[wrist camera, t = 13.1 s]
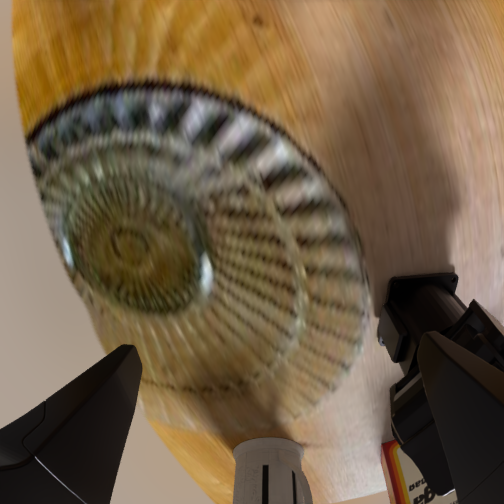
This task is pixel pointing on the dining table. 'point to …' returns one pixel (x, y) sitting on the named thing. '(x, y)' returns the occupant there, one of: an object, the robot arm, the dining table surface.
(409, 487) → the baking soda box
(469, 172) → the dining table surface
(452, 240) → the dining table surface
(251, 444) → the grey pitcher
